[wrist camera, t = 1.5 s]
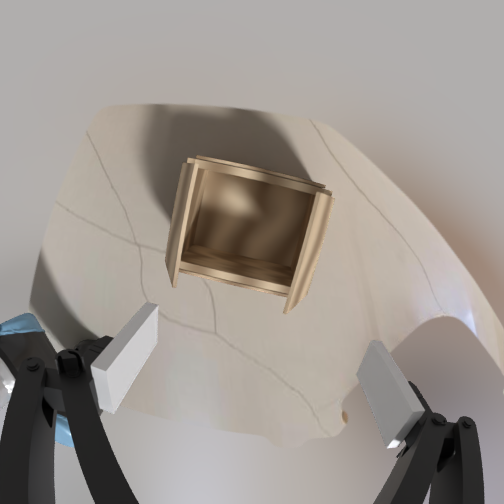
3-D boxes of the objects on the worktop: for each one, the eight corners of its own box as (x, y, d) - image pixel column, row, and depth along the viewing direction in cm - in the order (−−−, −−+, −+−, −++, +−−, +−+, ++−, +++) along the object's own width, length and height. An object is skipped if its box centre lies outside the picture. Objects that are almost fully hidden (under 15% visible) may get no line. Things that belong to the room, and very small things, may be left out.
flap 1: (167, 260, 35) (164, 260, 35) (185, 163, 32) (182, 162, 32) (176, 287, 28) (172, 287, 28) (198, 164, 25) (194, 163, 25)
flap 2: (282, 313, 28) (286, 314, 28) (316, 191, 25) (320, 192, 25) (304, 293, 35) (307, 294, 35) (331, 197, 32) (334, 197, 32)
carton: (186, 250, 45) (167, 268, 36) (205, 159, 42) (188, 153, 32) (293, 275, 46) (301, 300, 36) (317, 186, 42) (333, 187, 32)
